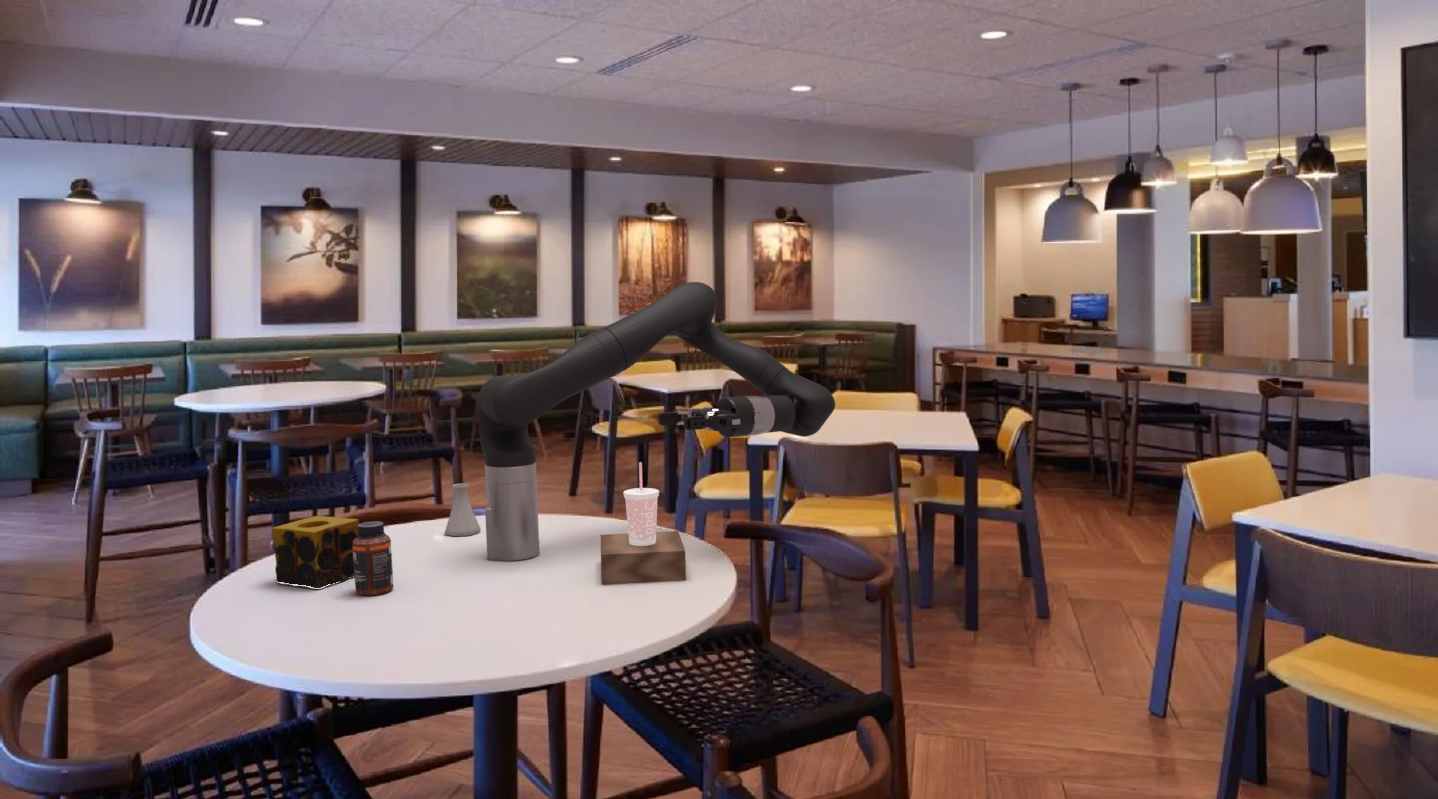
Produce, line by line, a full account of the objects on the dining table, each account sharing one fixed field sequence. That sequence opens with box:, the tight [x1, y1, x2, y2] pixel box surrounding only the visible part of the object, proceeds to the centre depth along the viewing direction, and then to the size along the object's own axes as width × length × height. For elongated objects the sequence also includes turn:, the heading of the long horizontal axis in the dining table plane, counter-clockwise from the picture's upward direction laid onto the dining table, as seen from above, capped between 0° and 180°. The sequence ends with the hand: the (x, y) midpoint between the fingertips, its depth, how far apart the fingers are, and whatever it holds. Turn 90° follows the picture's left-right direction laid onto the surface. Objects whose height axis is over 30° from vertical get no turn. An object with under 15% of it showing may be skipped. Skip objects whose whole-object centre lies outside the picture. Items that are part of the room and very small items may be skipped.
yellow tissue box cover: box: [272, 515, 360, 588], centre depth 170 cm, size 10×10×10 cm
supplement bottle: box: [353, 520, 394, 596], centre depth 162 cm, size 6×6×11 cm
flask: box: [443, 482, 481, 537], centre depth 202 cm, size 7×7×10 cm
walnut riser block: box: [599, 530, 687, 585], centre depth 171 cm, size 14×14×5 cm
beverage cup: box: [623, 461, 660, 546], centre depth 170 cm, size 6×6×14 cm
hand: (672, 421), depth 176 cm, fingers open, 8 cm apart
